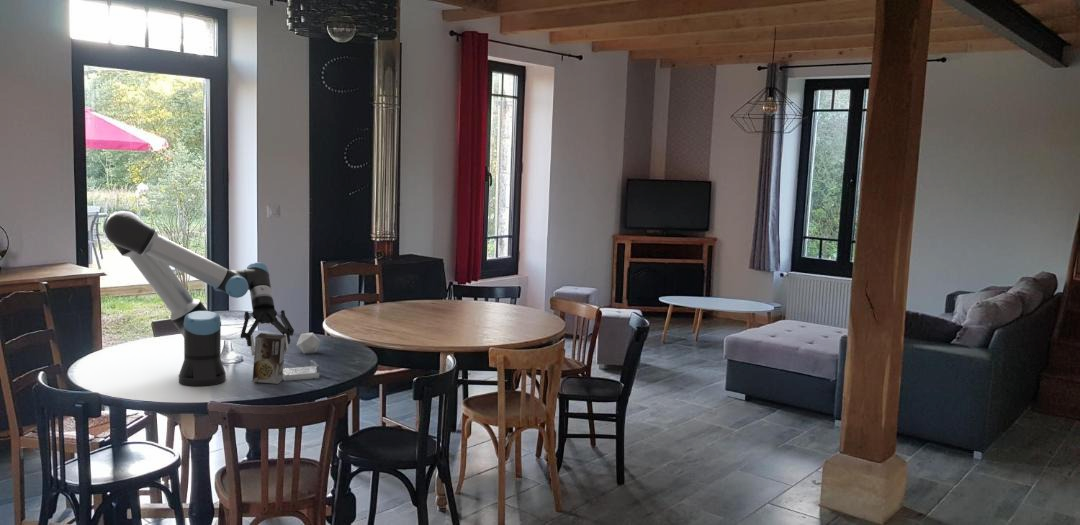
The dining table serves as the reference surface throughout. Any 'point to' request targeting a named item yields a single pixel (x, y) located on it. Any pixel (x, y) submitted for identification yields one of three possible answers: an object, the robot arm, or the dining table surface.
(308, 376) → the tray
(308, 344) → the die
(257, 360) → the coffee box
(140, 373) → the dining table surface
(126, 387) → the dining table surface
